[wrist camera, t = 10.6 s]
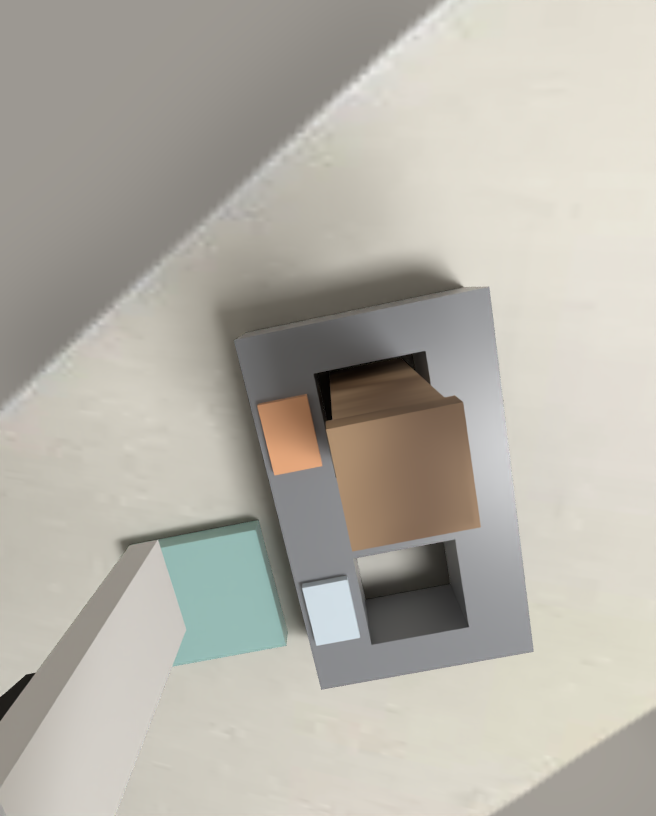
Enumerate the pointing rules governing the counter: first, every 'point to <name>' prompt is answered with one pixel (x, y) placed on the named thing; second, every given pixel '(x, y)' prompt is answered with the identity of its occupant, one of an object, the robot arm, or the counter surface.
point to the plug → (399, 456)
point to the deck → (224, 592)
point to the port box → (322, 508)
